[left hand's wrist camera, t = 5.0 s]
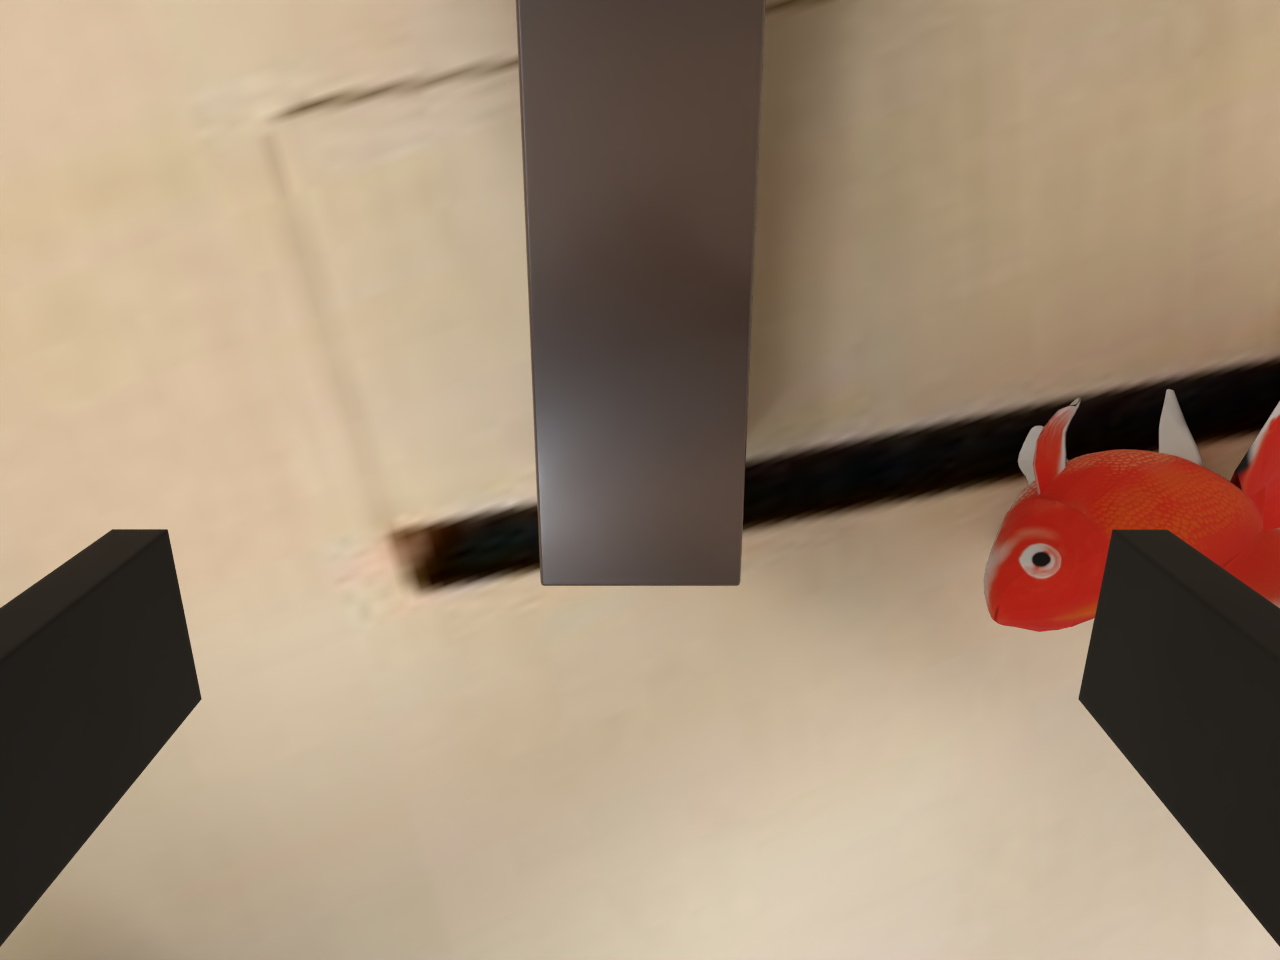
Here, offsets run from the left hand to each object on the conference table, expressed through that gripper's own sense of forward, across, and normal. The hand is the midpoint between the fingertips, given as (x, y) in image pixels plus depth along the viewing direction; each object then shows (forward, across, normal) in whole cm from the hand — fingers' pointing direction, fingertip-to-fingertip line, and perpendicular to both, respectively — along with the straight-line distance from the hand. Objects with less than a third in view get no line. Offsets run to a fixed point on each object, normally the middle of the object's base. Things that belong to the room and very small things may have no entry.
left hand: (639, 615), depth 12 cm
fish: (+17, -17, +2) cm, 24 cm away
